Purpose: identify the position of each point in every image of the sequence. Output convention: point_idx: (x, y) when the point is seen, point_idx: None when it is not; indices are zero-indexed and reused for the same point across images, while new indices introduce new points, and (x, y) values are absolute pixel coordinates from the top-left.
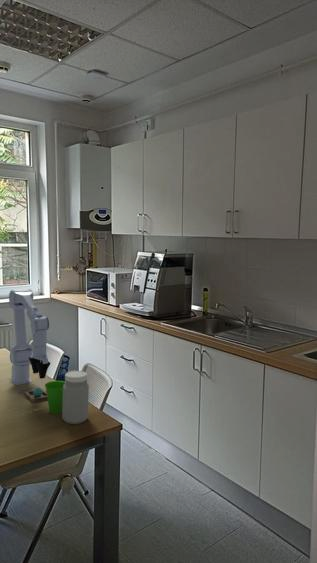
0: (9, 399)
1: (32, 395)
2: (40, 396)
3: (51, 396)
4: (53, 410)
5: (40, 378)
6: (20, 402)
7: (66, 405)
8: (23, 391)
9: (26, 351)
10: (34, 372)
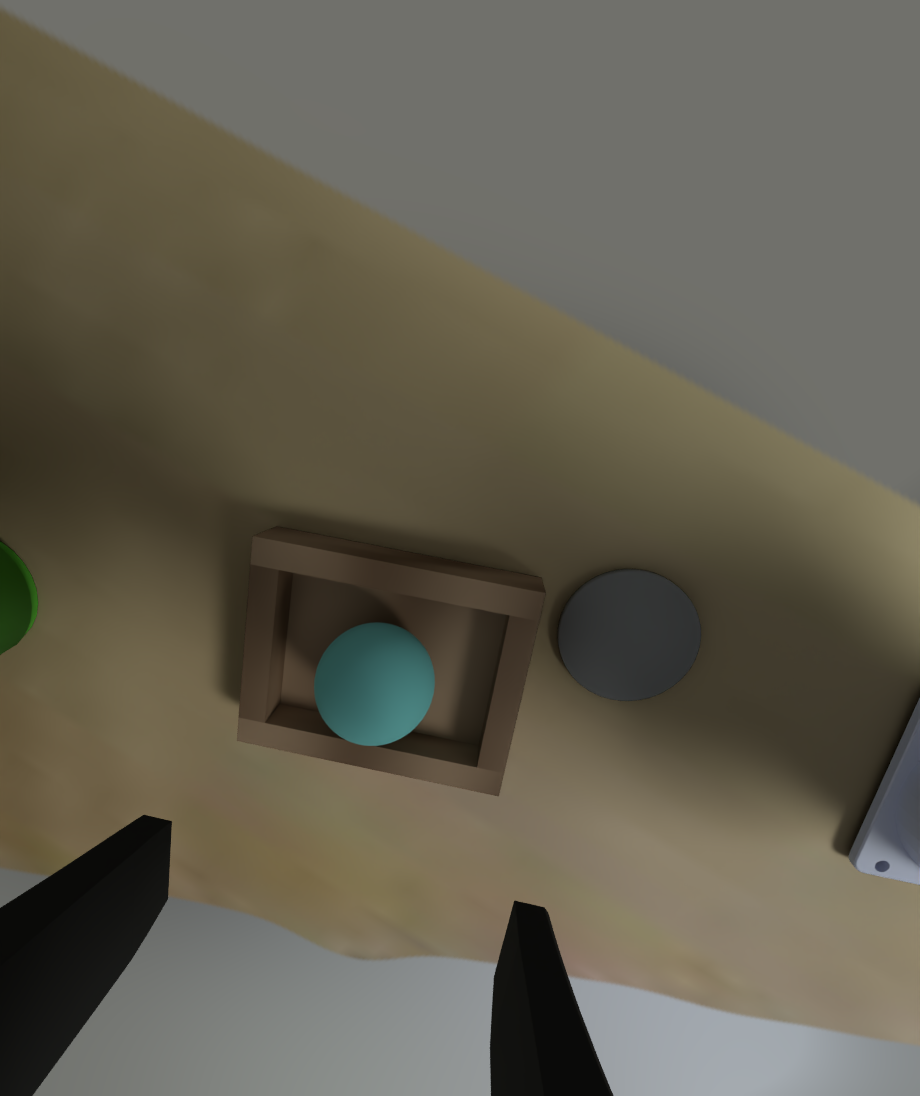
0: (562, 387)
1: (456, 634)
2: None
3: None
4: None
5: (135, 820)
6: (390, 441)
7: None
8: (649, 630)
9: None
10: (513, 935)
